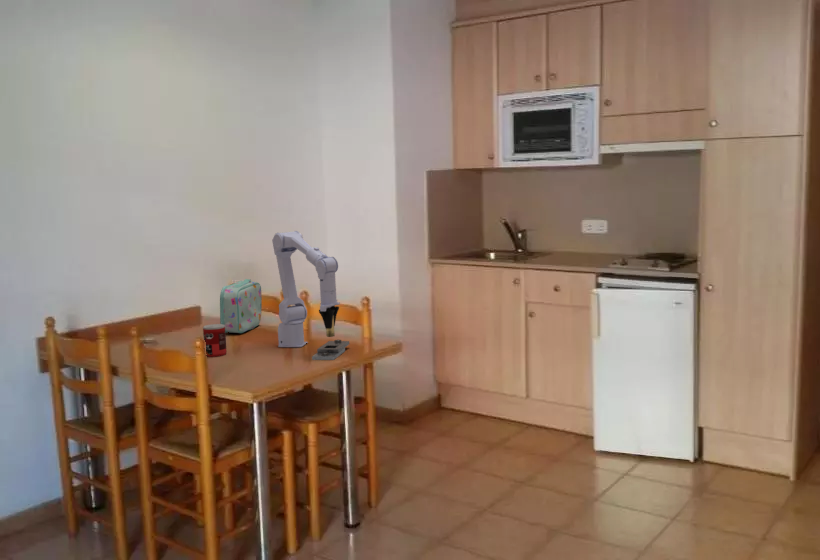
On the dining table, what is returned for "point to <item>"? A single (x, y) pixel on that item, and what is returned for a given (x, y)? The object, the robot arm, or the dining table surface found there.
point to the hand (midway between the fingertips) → (330, 327)
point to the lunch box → (240, 306)
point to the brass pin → (331, 330)
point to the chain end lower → (326, 355)
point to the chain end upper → (333, 346)
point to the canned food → (215, 340)
